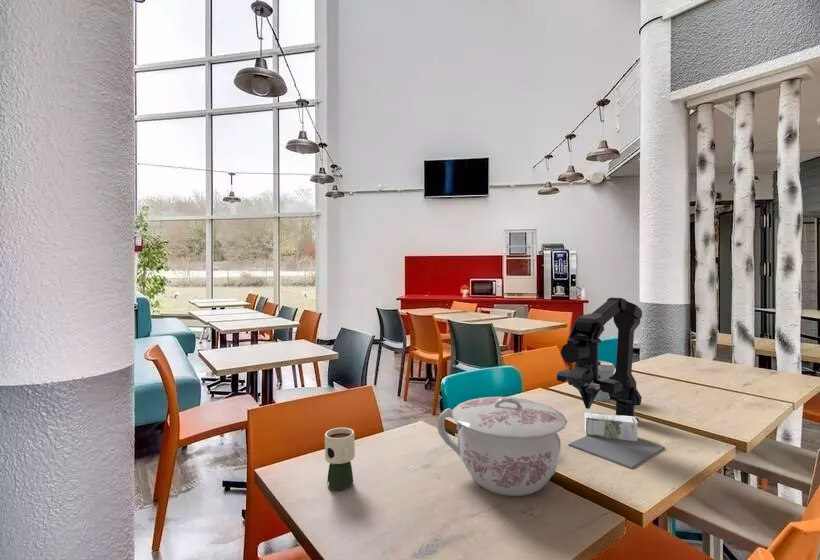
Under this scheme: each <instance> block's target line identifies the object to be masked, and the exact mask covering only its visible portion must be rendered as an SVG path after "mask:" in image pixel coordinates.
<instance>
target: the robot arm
mask: <svg viewBox="0 0 820 560" xmlns="http://www.w3.org/2000/svg"><path fill="white" fill-rule="evenodd" d="M642 316H643V311H642V309H641V308H640V307H639V306H638V305H637V304H636V303H632V302H629V301H628V300H626V299H625V298H622V297H609V298H607V299H606V301H605V302H604V303H603V304H601V305H600V306H599V307H597V308H596V309H595V310H594V311H593V312H592V313H588V314H582V315H580V316H578V317H577V318H576V319H575V321H574V323H573V326H572V328H571V330H570V332H569V336H568V338H567V340H566V344H564V345H562V347H561V350H560V355H561V357H562V359H563V361H565V362H566V363H569V364H573V363H574V368H572V369H571V370H570V369H564V370H559V371H558V372H557V373H556V381H557V382H562V383H566V382H567V383H568V385H569V386H572V387H573V388H576V390H577V391H578V392H579V394H580V396H581V399H582V401H583V404H584V407H585V409H587V410H590V409H591V407H592V405H593V403H594V401H595V400H594V399H595V397H596V395H597V394H598V392H599V391H600V390H602V392H606V393H609V398H608V399H609V400H610V401H615V415H623V416H633V417H635V407H636V406H641V403H642V399H643V398H642V395H641V394H640V392H639V390H638V389H637V381H636V380H635V377H634V376H633V374H632V371H633V368H632V367H633V356H634V355H633V354H634V352H633V351H634V341H635V340H634V335H635V330H636V329H638V327H639V326H640V324H641V319H642ZM612 319H613V323H614V325H615V327H616V328H617V342H616V343H617V344H616V356H615V357H616V360H615V371H614V373H613V376H612V377H611V376H610V377H609V379H607V380H603V381H601V380H598V379H599V378H600V375H599V374H598V365H601V362H600V361H601V360H599V344H600V343H602V340H601V338H600V337H601V335H602V333H603V332H604V331H605V327H604V326H605V324H607V323H608V322H609V321H611V320H612ZM635 418H636V420H637V421H639V420H640V419H639V417H635Z"/></svg>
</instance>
